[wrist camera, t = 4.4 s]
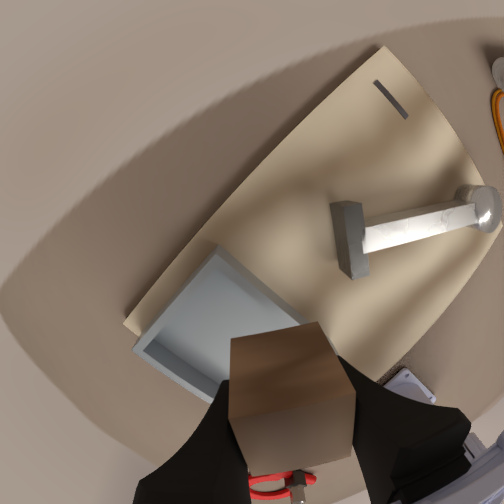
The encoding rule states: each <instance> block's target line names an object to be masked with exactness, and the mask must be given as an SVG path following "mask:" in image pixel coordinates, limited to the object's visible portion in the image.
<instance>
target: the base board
mask: <svg viewBox="0 0 504 504" xmlns="http://www.w3.org/2000/svg"><path fill="white" fill-rule="evenodd" d="M463 184H473V185H483V186H485V184H484V182H483V180H482V178H481V176H480V174H479V172H478V170H477V169H476V167H475V165H474V163H473V161H472V160H471V158H470V156H469V154H468V153H467V151H466V149H465V148H464V146H463V144H462V143H461V141H460V139H459V138H458V136H457V135H456V133H455V132H454V130H453V129H452V127H451V126H450V124H449V123H448V121H447V120H446V118H445V117H444V115H443V114H442V113H441V111H440V110H439V108H438V107H437V106H436V104H435V103H434V102H433V100H432V99H431V98H430V96H429V95H428V94H427V93H426V91H425V90H424V89H423V88H422V86H421V85H420V84H419V83H418V82H417V80H416V79H415V78H414V77H413V76H412V75H411V73H410V72H409V71H408V70H407V69H406V68H405V67H404V66H403V64H402V63H401V62H400V61H399V60H398V59H397V58H396V57H395V56H394V55H393V54H392V53H391V52H390V51H389V50H388V49H387V48H386V47H385V46H383V47H382V48H381V49H380V50H378V51H377V52H376V53H375V54H374V55H373V56H372V57H370V58H369V59H368V60H367V61H366V62H365V63H364V64H362V65H361V66H360V67H359V68H358V69H357V70H356V71H355V72H353V73H352V74H351V75H350V76H349V77H348V78H347V79H346V80H345V81H344V82H342V83H341V84H340V85H339V86H338V87H337V88H336V89H335V90H334V91H333V92H332V93H331V94H330V95H329V96H327V97H326V98H325V99H324V100H323V101H322V102H321V103H320V104H319V105H318V106H317V107H316V108H315V109H314V110H313V111H312V112H311V113H310V114H309V115H308V116H307V117H306V118H305V119H304V120H303V121H302V122H301V123H300V124H298V125H297V126H296V127H295V128H294V129H293V130H292V131H291V132H290V133H289V134H288V135H287V136H286V137H285V138H284V140H283V141H282V142H281V143H280V144H279V145H278V146H277V147H276V148H275V149H274V150H273V151H272V152H271V153H270V154H269V155H268V156H267V157H266V158H265V159H264V160H263V161H262V162H261V163H260V164H259V165H258V166H257V167H256V168H255V169H254V171H253V172H252V173H251V174H250V175H249V176H248V177H247V178H246V179H245V180H244V181H243V182H242V183H241V184H240V186H239V187H238V188H237V189H236V190H235V191H234V192H233V193H232V194H231V195H230V196H229V197H228V199H227V200H226V201H225V202H224V203H223V204H222V205H221V206H220V207H219V209H218V210H217V211H216V212H215V213H214V214H213V215H212V216H211V218H210V219H209V220H208V221H207V222H206V223H205V224H204V225H203V227H202V228H201V229H200V230H199V231H198V232H197V233H196V235H195V236H194V237H193V238H192V239H191V240H190V242H189V243H188V244H187V245H186V246H185V247H184V249H183V250H182V251H181V252H180V253H179V254H178V256H177V257H176V258H175V259H174V260H173V262H172V263H171V264H170V265H169V266H168V268H167V269H166V270H165V271H164V272H163V274H162V275H161V276H160V277H159V279H158V280H157V281H156V282H155V283H154V285H153V286H152V287H151V288H150V290H149V291H148V292H147V293H146V295H145V296H144V297H143V298H142V300H141V301H140V302H139V303H138V305H137V306H136V307H135V308H134V310H133V311H132V312H131V314H130V315H129V316H128V317H127V319H126V320H125V321H124V323H123V325H125V326H126V327H127V328H128V329H130V330H131V331H132V332H133V333H134V334H136V335H137V336H138V337H139V336H140V334H141V332H142V331H143V330H144V329H145V328H146V326H147V325H148V324H149V323H150V322H151V321H152V319H153V318H154V317H155V316H156V315H157V314H158V312H159V311H160V310H161V309H162V308H163V307H164V305H165V304H166V303H167V302H168V301H169V300H170V298H171V297H172V296H173V295H174V294H175V293H176V292H177V290H178V289H179V288H180V287H181V286H182V285H183V284H184V282H185V281H186V280H187V279H188V278H189V277H190V276H191V274H192V273H193V272H194V271H195V270H196V269H197V268H198V267H199V265H200V264H201V263H202V262H203V261H204V260H205V259H206V258H207V256H208V255H209V254H210V253H211V252H212V251H213V250H214V249H215V247H216V246H217V245H218V244H219V245H220V246H221V247H223V248H224V249H225V250H226V251H227V252H228V253H230V254H231V255H232V256H233V257H234V258H235V259H236V260H238V261H239V262H240V263H241V264H242V265H243V266H245V267H246V268H247V269H248V270H249V271H250V272H251V273H253V274H254V275H255V276H256V277H257V278H258V279H260V280H261V281H262V282H263V283H264V284H265V285H267V286H268V287H269V288H270V289H271V290H272V291H274V292H275V293H276V294H277V295H278V296H279V297H281V298H282V299H283V300H284V301H285V302H287V303H288V304H289V305H290V306H291V307H292V308H294V309H295V310H296V311H297V312H298V313H300V314H301V315H302V316H303V317H304V318H305V319H307V320H308V321H309V322H310V323H312V322H316V321H318V323H319V325H320V326H321V328H322V330H323V332H324V334H325V335H326V336H327V337H328V338H329V339H330V340H331V342H332V343H333V345H334V347H335V349H336V350H337V352H338V354H339V356H341V357H342V358H343V359H345V360H346V361H347V362H348V363H349V364H351V365H352V366H353V367H354V368H356V369H357V370H358V371H360V372H361V373H363V374H364V375H365V376H367V377H368V378H370V379H371V380H373V381H374V382H376V381H377V380H378V379H379V378H381V377H382V376H383V375H384V374H385V373H386V372H387V371H388V370H389V369H390V368H391V367H392V366H393V365H394V364H395V363H397V362H398V361H399V360H400V359H401V358H402V357H403V356H404V355H405V354H406V353H407V352H408V351H409V350H410V349H411V348H412V346H413V345H414V344H415V343H416V342H417V341H418V340H419V339H420V338H421V337H422V336H423V335H424V334H425V333H426V331H427V330H428V329H429V328H430V327H431V326H432V325H433V324H434V322H435V321H436V320H437V319H438V318H439V317H440V315H441V314H442V313H443V312H444V311H445V309H446V308H447V307H448V306H449V304H450V303H451V302H452V301H453V299H454V298H455V297H456V296H457V294H458V293H459V292H460V290H461V289H462V288H463V286H464V285H465V284H466V282H467V281H468V280H469V278H470V277H471V275H472V274H473V273H474V271H475V270H476V268H477V267H478V265H479V264H480V262H481V261H482V259H483V258H484V256H485V255H486V253H487V252H488V250H489V248H490V247H491V245H492V244H493V242H494V240H495V239H496V237H497V235H498V234H499V232H500V230H501V228H502V227H503V225H502V222H501V220H500V223H499V225H498V227H497V228H496V230H495V231H493V232H492V233H486V232H482V231H479V230H475V229H472V228H468V227H465V226H464V227H461V228H457V229H454V230H450V231H447V232H443V233H440V234H436V235H433V236H429V237H425V238H422V239H418V240H414V241H411V242H407V243H403V244H400V245H396V246H392V247H388V248H384V249H381V250H377V251H373V252H369V253H368V259H369V270H370V276H366V277H363V278H359V279H356V280H351V279H350V278H349V277H348V276H347V275H346V274H344V273H343V272H342V271H341V270H340V269H339V265H338V257H337V250H336V243H335V236H334V229H333V223H332V217H331V211H330V205H329V203H334V202H339V201H344V200H349V201H354V202H359V203H362V208H363V215H364V219H366V218H370V217H375V216H380V215H384V214H389V213H394V212H399V211H403V210H408V209H413V208H417V207H422V206H427V205H432V204H437V203H441V202H446V201H451V200H454V196H455V193H456V191H457V189H458V188H459V187H460V186H461V185H463Z"/></svg>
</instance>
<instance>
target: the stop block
mask: <svg viewBox="0 0 504 504" xmlns="http://www.w3.org/2000/svg"><path fill="white" fill-rule="evenodd" d="M355 402H356V391H355V389H354V387H353V385H352V384H351V382H350V380H349V378H348V376H347V374H346V372H345V370H344V369H343V367H342V365H341V363H340V361H339V359H338V357H337V356H336V354H335V352H334V350H333V348H332V346H331V345H330V343H329V341H328V339H327V337H326V335H325V334H324V332H323V330H322V328H321V326H320V325H319V323H318V321H316V322H312V323H307V324H303V325H298V326H293V327H289V328H284V329H279V330H274V331H269V332H263V333H258V334H253V335H247V336H241V337H236V338H231V341H230V373H229V413H228V419H229V422H230V424H231V427H232V429H233V432H234V434H235V437H236V439H237V442H238V444H239V447H240V449H241V452H242V454H243V457H244V459H245V461H246V464H247V466H248V468H249V471H250V473H251V475H252V477H254V476H262V475H269V474H276V473H282V472H287V471H293V470H298V469H303V468H307V467H312V466H316V465H320V464H324V463H328V462H332V461H336V460H339V459H343V458H346V457H349V456H351V450H352V440H353V430H354V418H355Z"/></svg>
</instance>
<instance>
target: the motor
mask: <svg viewBox="0 0 504 504" xmlns="http://www.w3.org/2000/svg"><path fill="white" fill-rule="evenodd" d="M492 75H493V78H494V80H495V82H496V85H497V87H498V89H499V90H497V91H495V92H494V94H493V97H492V112H493V118H494V122H495V127H496V130H497V134H498V137H499V141H500V144H501V147H502V151H503V154H504V143H503V142H504V131H503V127H502V124H501V119H500V114H499V101H500V99H501V98H502V97H503V96H504V57H499V58H497V59H496V60H495V61H494V63H493V66H492ZM499 93H500V94H499ZM498 94H499V95H498ZM497 95H498V96H497ZM496 97H497V98H496ZM495 100H496V103H495ZM502 139H503V140H502Z"/></svg>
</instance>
